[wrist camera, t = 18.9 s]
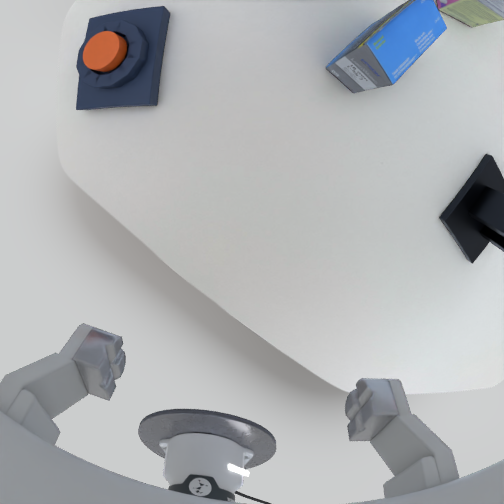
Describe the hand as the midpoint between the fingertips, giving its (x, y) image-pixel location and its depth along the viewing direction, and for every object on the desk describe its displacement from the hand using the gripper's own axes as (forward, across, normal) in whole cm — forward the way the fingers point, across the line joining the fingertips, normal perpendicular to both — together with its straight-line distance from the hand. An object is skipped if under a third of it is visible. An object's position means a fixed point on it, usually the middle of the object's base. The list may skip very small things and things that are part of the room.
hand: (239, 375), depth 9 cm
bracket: (+23, -27, -5) cm, 35 cm away
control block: (+20, +16, -12) cm, 28 cm away
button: (+17, +15, -12) cm, 26 cm away
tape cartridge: (+22, -7, -16) cm, 28 cm away
